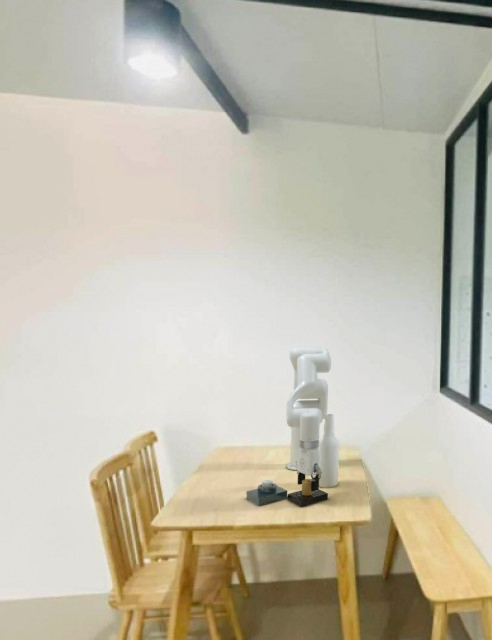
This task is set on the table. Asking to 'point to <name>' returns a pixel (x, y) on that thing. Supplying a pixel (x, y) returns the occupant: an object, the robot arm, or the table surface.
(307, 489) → the dial
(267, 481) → the light grey short cylinder
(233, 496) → the table surface
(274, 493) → the push button box
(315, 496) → the dial plate
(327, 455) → the alcohol
